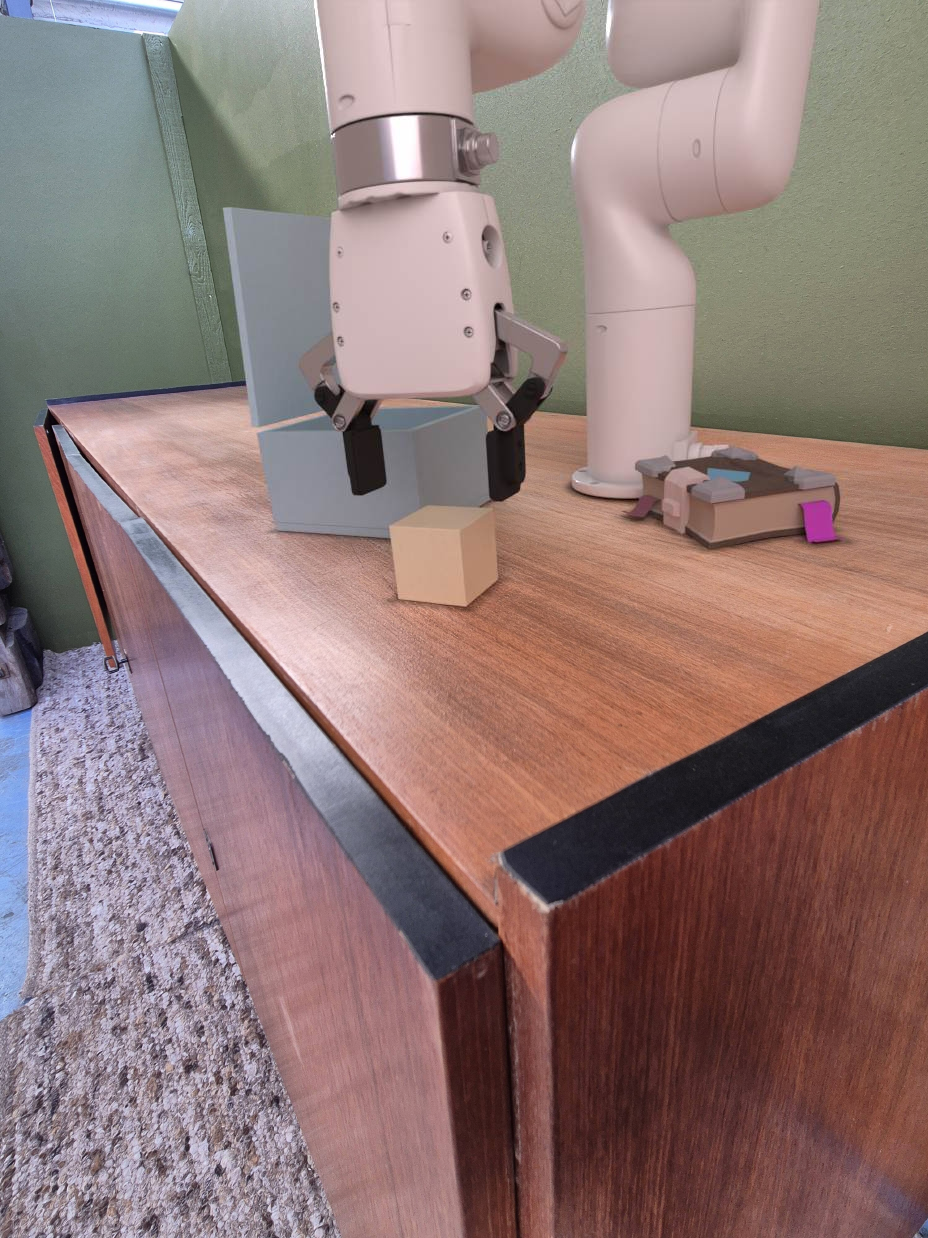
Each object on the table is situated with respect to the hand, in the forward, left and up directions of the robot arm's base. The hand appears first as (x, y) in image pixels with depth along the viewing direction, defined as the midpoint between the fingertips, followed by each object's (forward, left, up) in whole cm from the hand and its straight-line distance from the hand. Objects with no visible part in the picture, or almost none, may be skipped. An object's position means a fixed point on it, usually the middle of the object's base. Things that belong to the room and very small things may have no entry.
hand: (434, 493), depth 44 cm
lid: (+22, -17, +11) cm, 29 cm away
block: (0, -1, -7) cm, 7 cm away
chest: (+15, -17, -7) cm, 23 cm away
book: (-13, -21, -7) cm, 25 cm away
